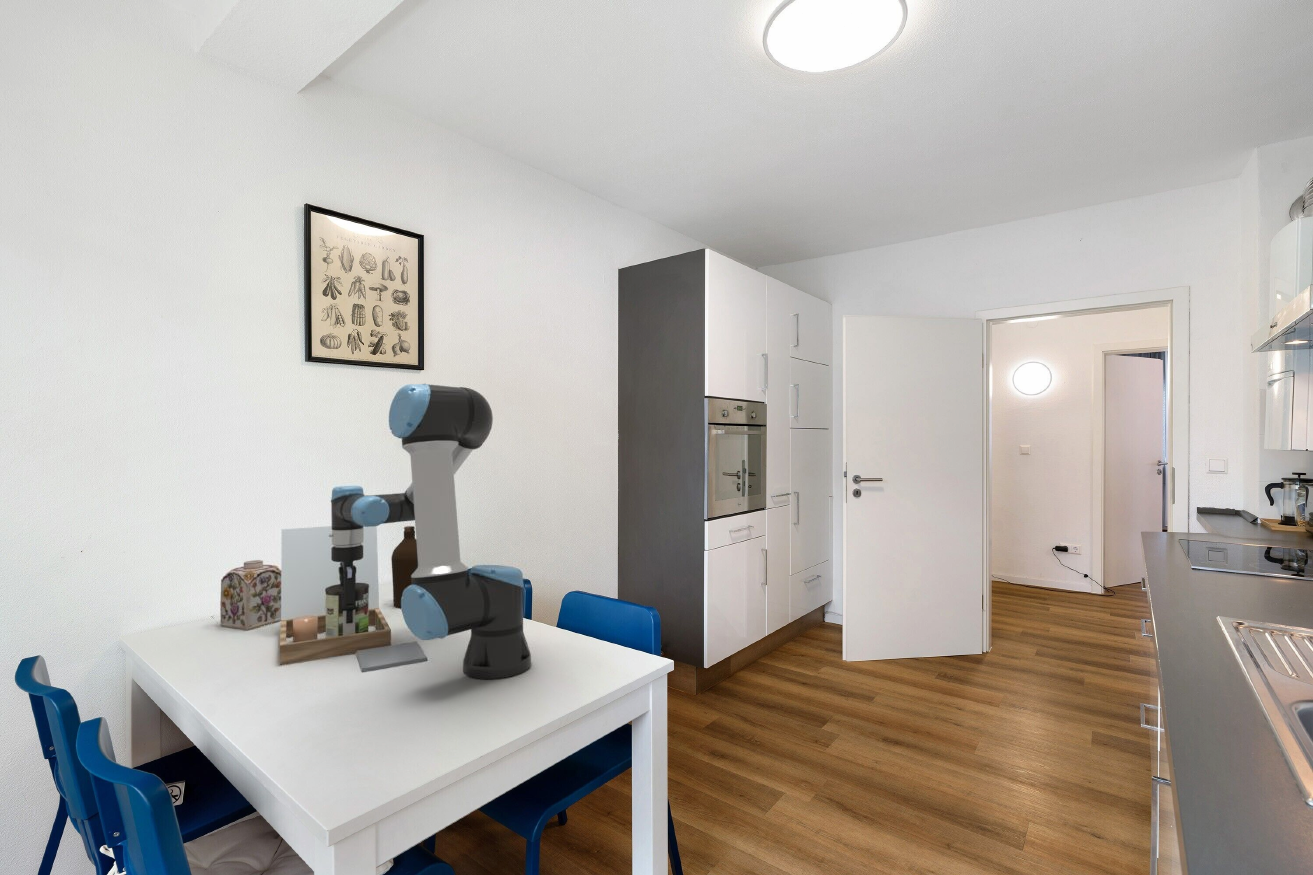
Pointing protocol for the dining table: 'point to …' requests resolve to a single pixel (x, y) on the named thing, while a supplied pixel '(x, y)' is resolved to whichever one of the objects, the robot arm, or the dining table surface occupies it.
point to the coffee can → (337, 602)
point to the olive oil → (404, 564)
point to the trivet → (390, 656)
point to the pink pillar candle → (305, 628)
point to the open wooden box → (333, 640)
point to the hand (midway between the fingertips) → (347, 629)
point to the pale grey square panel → (320, 570)
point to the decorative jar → (251, 596)
